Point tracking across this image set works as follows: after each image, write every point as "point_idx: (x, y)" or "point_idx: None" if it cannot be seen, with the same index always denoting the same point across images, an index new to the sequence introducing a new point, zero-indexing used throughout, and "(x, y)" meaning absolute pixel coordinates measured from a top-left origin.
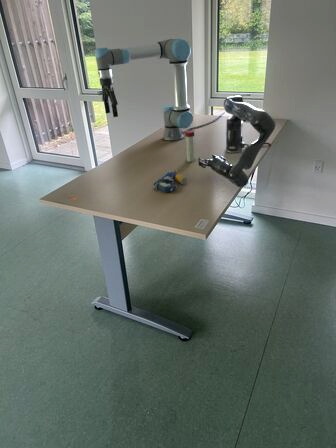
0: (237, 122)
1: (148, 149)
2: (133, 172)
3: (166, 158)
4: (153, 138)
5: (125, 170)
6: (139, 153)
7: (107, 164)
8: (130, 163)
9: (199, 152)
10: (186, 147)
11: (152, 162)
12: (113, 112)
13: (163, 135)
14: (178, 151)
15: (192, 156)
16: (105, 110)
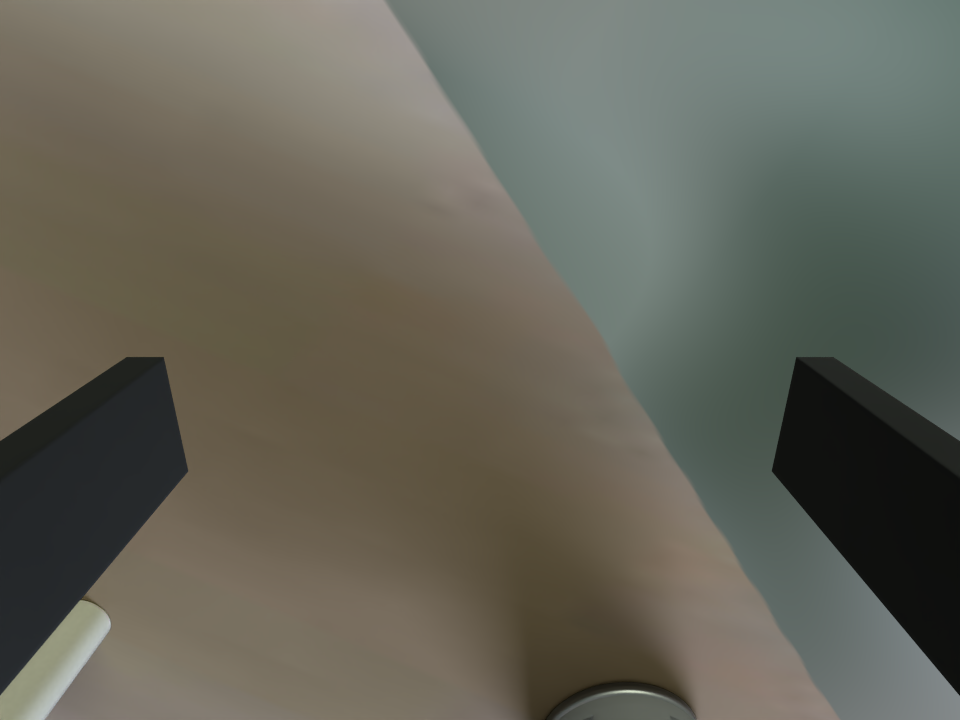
0: None
1: (510, 511)
2: (26, 183)
3: (214, 523)
4: (736, 643)
5: (111, 140)
6: (468, 417)
7: (380, 43)
8: (268, 253)
9: (203, 715)
10: (14, 688)
11: (185, 410)
12: (30, 432)
13: (658, 712)
14: (308, 640)
15: None
16: (873, 393)
